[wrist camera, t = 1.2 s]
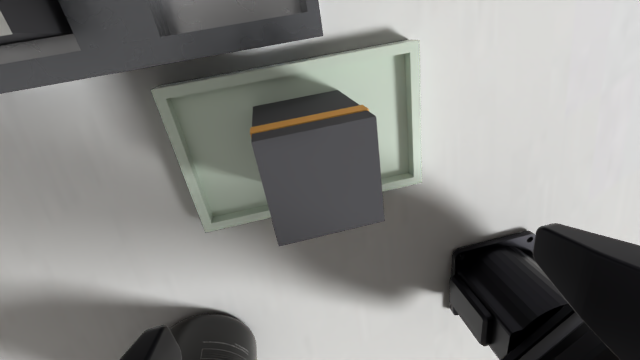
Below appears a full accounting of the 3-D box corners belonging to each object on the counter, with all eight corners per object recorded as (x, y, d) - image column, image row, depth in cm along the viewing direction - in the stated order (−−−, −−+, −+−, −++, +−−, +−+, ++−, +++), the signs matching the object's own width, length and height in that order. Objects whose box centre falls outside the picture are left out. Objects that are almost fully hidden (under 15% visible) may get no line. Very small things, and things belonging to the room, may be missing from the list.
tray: (409, 39, 17) (419, 40, 16) (413, 174, 20) (421, 182, 19) (157, 86, 16) (150, 90, 15) (208, 221, 19) (205, 232, 18)
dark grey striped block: (338, 88, 17) (377, 114, 11) (348, 167, 19) (385, 221, 13) (251, 105, 16) (249, 141, 11) (271, 184, 18) (278, 247, 13)
